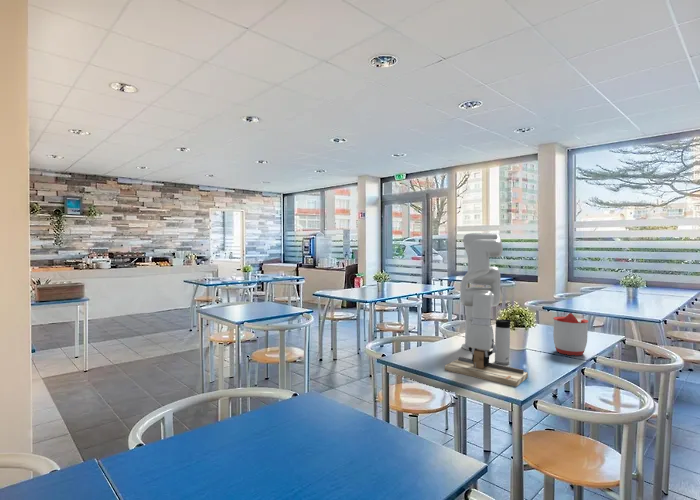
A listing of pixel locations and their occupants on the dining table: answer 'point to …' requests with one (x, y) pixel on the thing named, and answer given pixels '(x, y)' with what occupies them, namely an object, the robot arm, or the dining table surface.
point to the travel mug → (502, 341)
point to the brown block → (479, 358)
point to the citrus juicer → (570, 335)
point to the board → (488, 371)
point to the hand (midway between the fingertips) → (480, 364)
